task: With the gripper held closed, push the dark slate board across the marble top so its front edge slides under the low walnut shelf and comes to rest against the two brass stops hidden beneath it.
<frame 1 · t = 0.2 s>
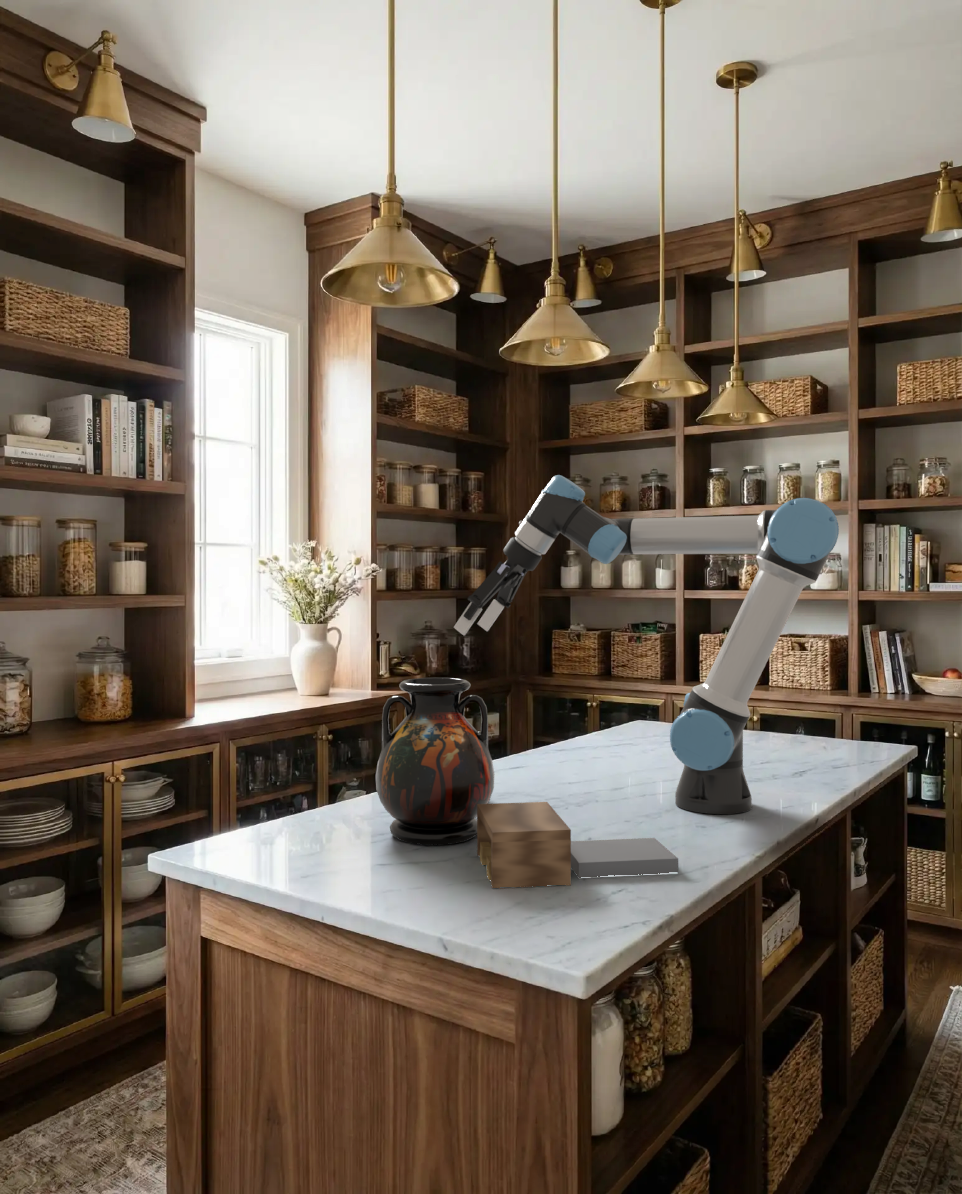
hand: (471, 629, 199), 36 cm above the worktop, tool tilted 35°, fingers open, 13 cm apart
walnut shelf: (521, 868, 154), on the worktop
slate board: (618, 868, 156), on the worktop
amphora vase: (435, 835, 174), on the worktop
pump dispenser: (457, 799, 202), on the worktop
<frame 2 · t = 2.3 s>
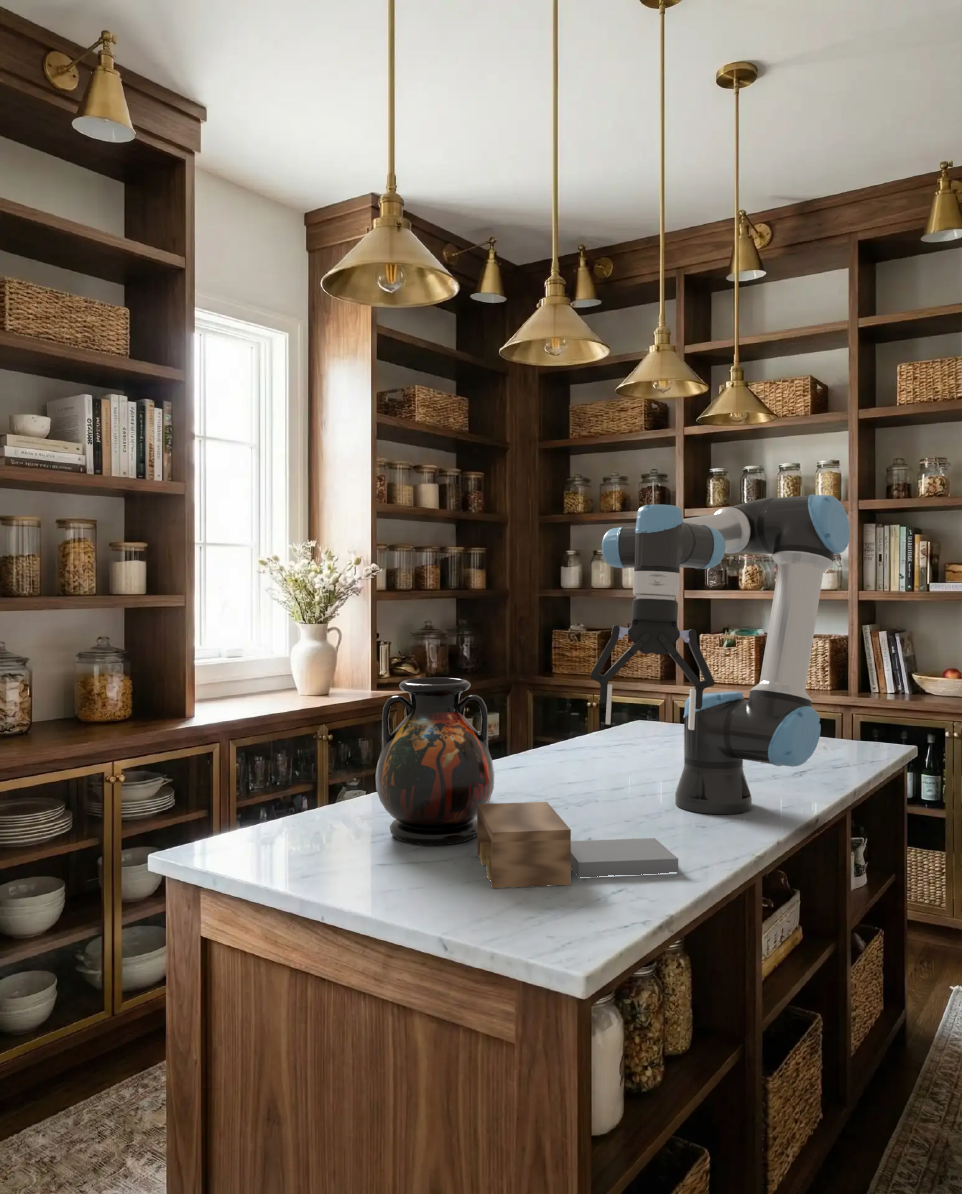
hand: (649, 726, 159), 22 cm above the worktop, tool pointing down, fingers open, 13 cm apart
nothing on the worktop moved.
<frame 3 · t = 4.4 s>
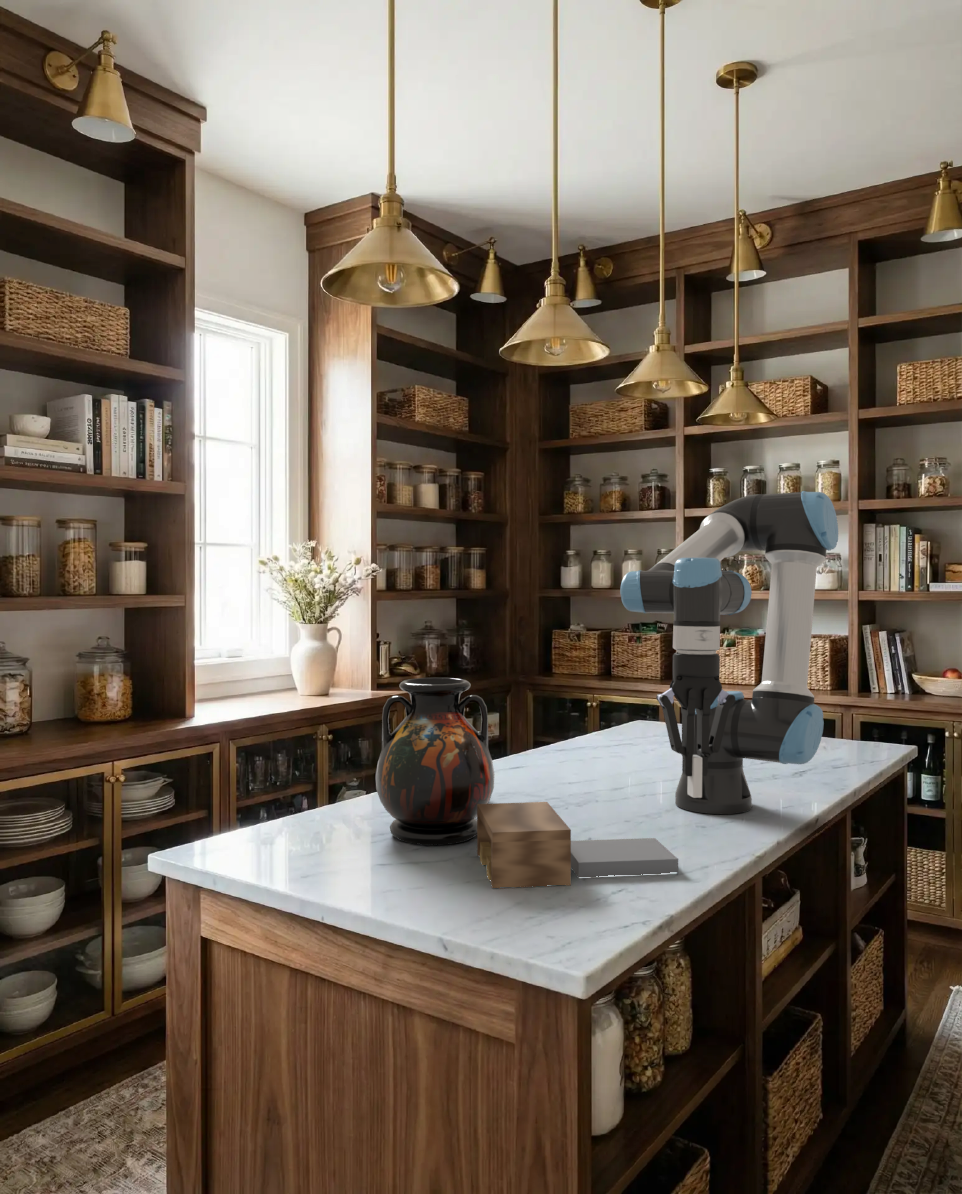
hand: (694, 795, 157), 11 cm above the worktop, tool pointing down, fingers closed
nothing on the worktop moved.
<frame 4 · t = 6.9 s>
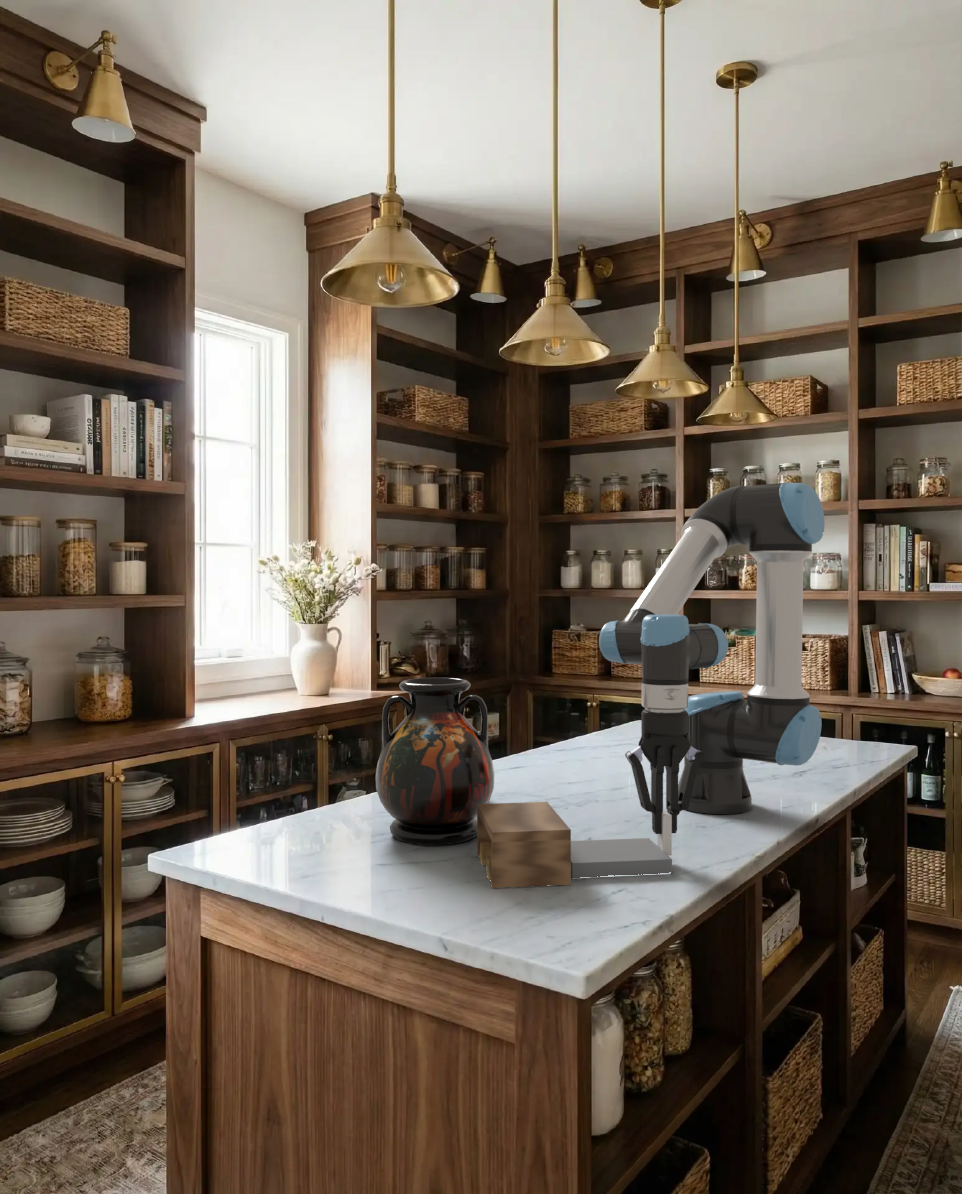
hand: (664, 852, 157), 2 cm above the worktop, tool pointing down, fingers closed
slate board: (612, 868, 156), on the worktop, touching gripper
everything else where it was.
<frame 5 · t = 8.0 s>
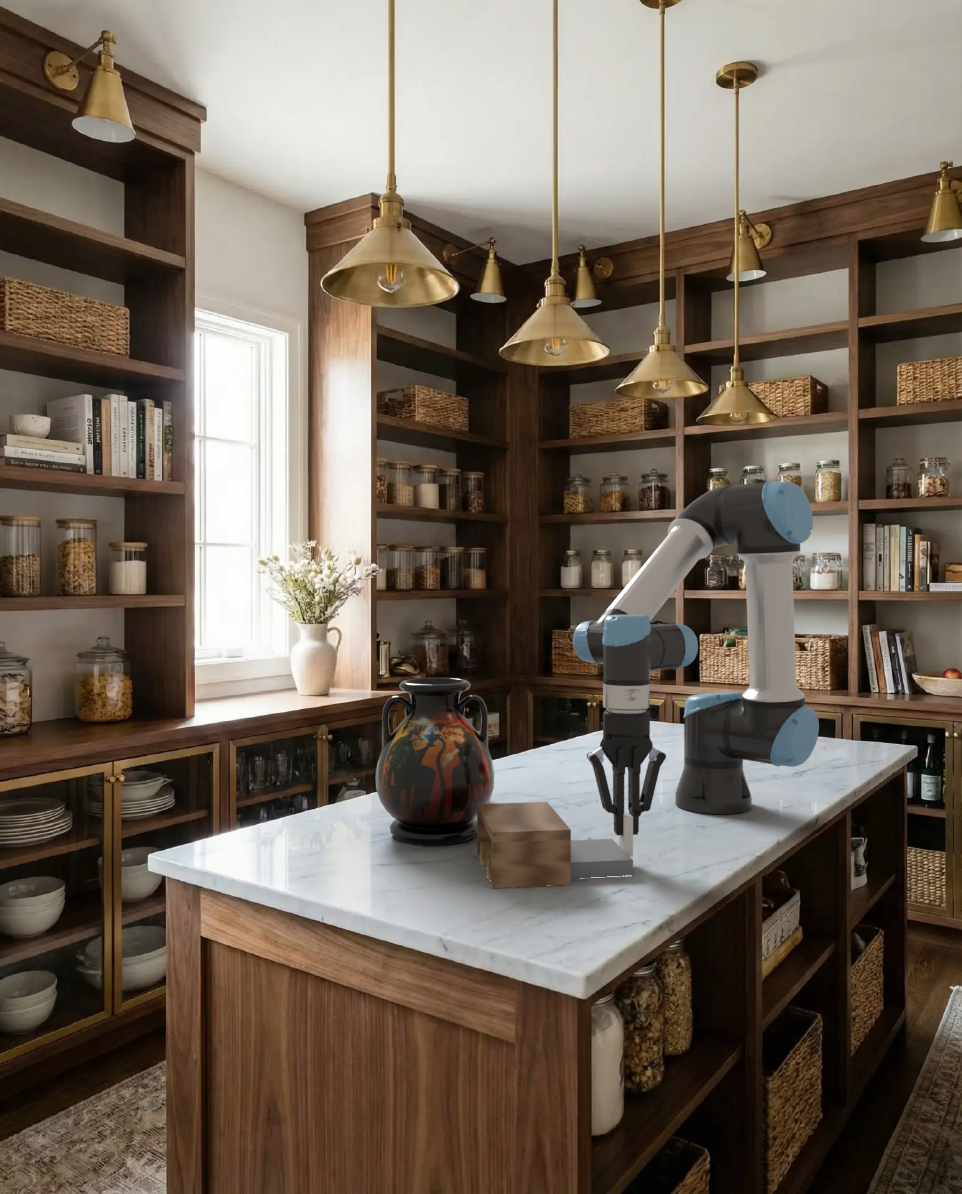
hand: (626, 854, 156), 2 cm above the worktop, tool pointing down, fingers closed
slate board: (573, 869, 155), on the worktop
everything else where it was.
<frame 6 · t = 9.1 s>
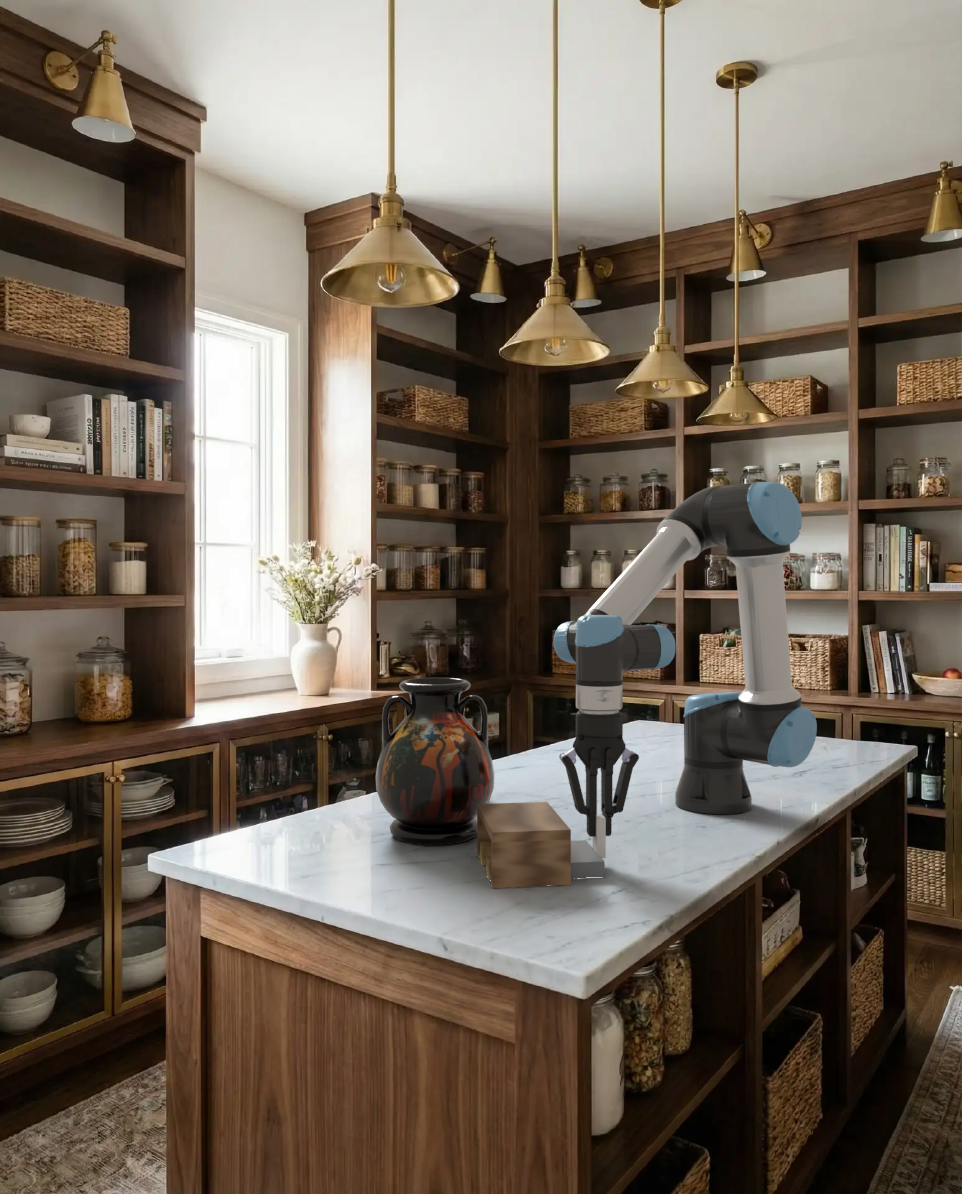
hand: (599, 855, 155), 2 cm above the worktop, tool pointing down, fingers closed
slate board: (546, 870, 154), on the worktop
everything else where it was.
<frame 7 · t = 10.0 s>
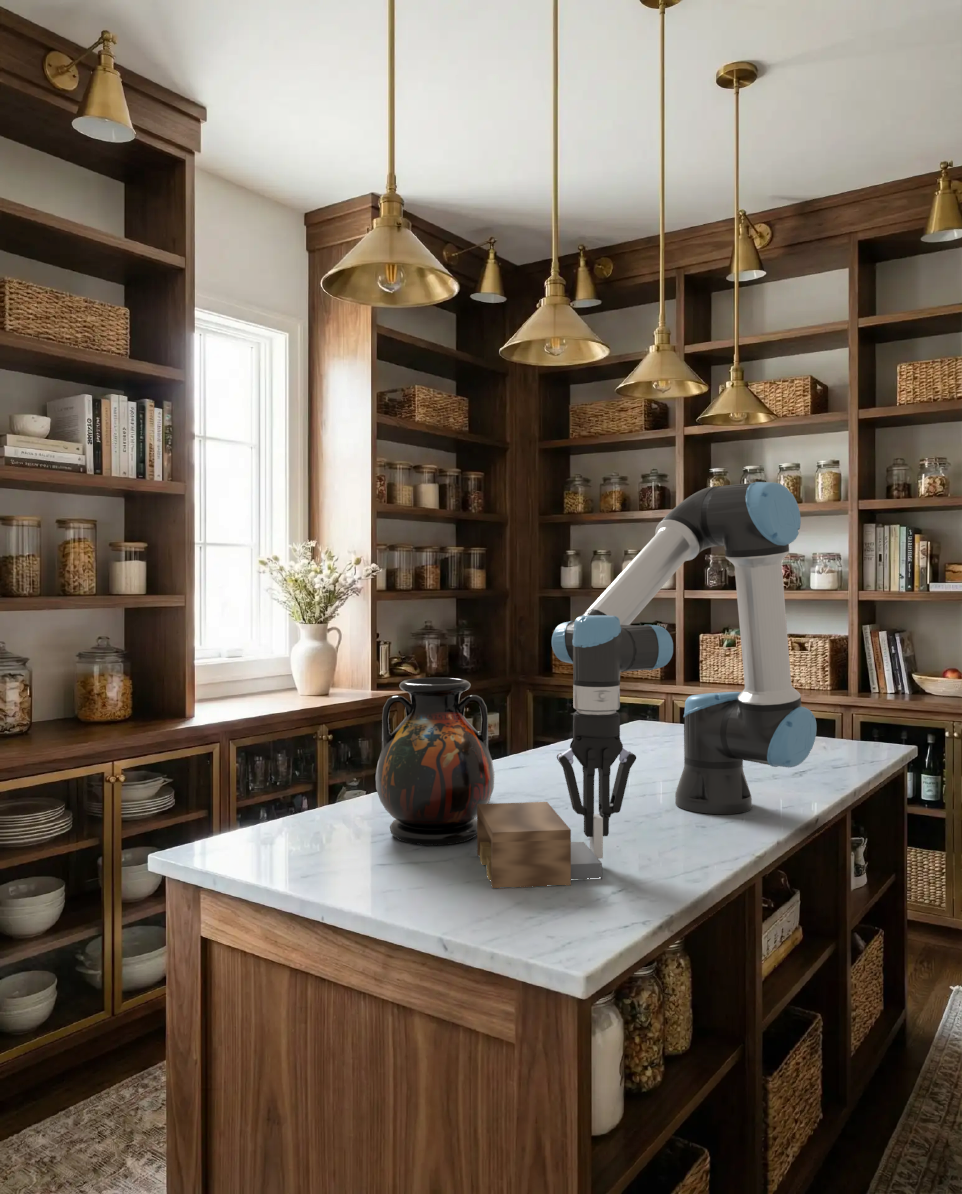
hand: (596, 856, 155), 2 cm above the worktop, tool pointing down, fingers closed
nothing on the worktop moved.
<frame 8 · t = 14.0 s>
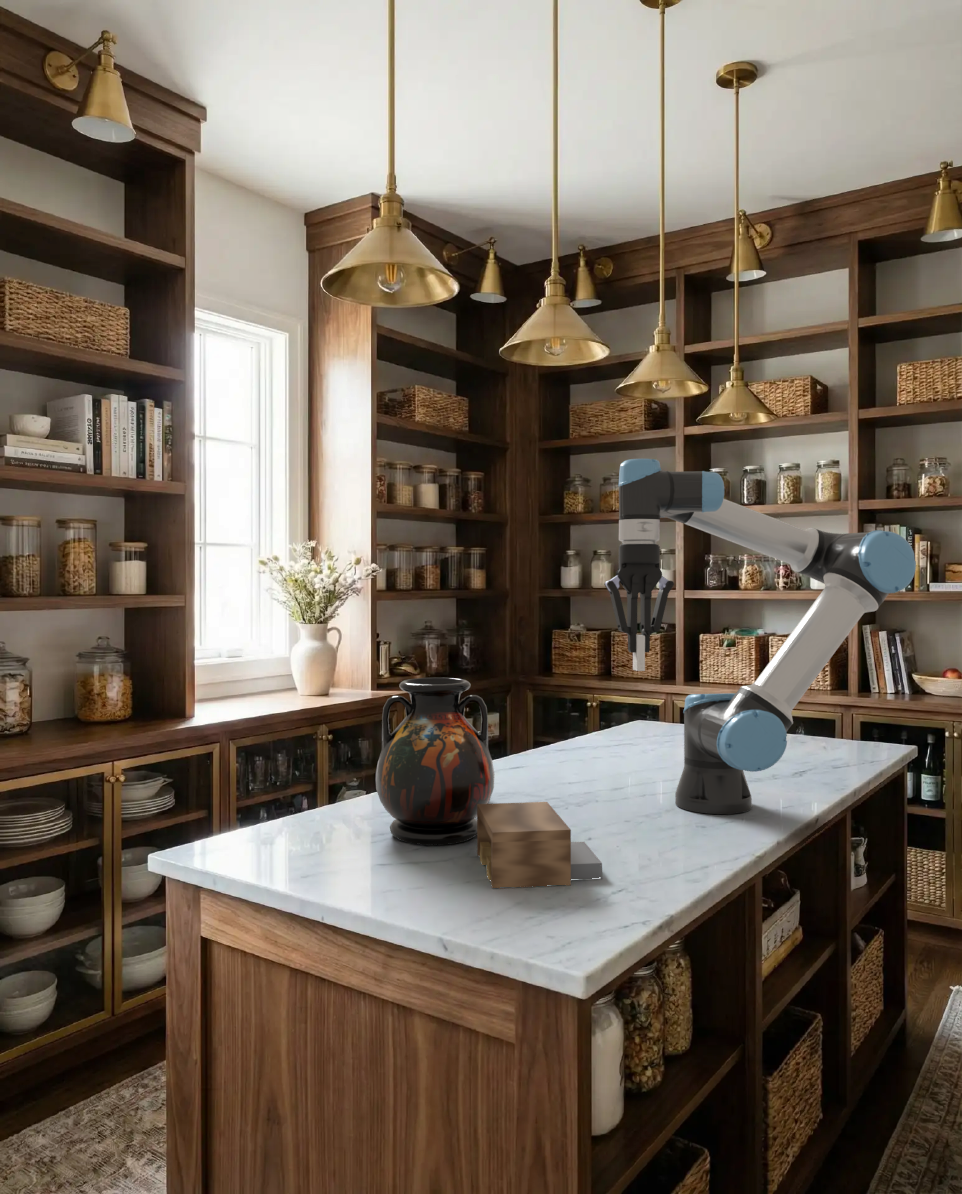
hand: (638, 670, 178), 29 cm above the worktop, tool pointing down, fingers closed
nothing on the worktop moved.
at the end: slate board 0.6 cm from the target spot on the walnut shelf, point -0.6 cm above the walnut shelf's base; slate board tilted 0° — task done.
